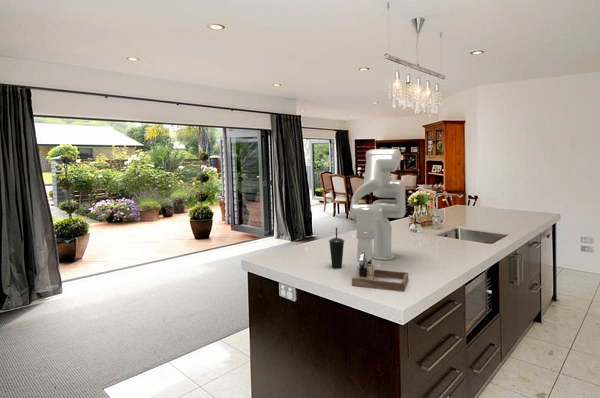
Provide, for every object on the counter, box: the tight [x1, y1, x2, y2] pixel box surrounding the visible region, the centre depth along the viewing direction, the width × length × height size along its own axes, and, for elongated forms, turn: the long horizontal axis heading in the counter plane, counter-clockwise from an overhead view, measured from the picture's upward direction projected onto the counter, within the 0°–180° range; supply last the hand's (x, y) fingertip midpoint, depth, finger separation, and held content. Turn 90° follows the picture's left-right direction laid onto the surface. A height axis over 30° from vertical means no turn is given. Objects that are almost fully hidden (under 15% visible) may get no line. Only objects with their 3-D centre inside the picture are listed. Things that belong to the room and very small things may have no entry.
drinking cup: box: [328, 227, 345, 270], centre depth 180 cm, size 8×8×20 cm
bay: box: [351, 268, 409, 292], centre depth 156 cm, size 16×21×3 cm
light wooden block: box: [356, 263, 375, 280], centre depth 159 cm, size 6×6×7 cm
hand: (365, 273), depth 159 cm, fingers open, 9 cm apart
